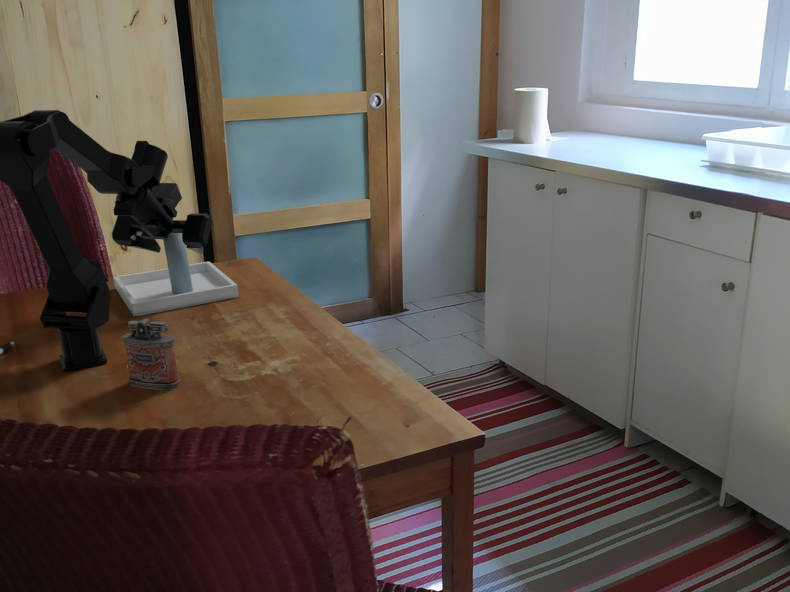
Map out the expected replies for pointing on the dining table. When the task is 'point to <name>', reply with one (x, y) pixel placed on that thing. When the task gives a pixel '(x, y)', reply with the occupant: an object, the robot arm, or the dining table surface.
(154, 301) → the tray
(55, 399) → the dining table surface
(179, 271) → the dowel
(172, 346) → the lighter
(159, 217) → the robot arm
